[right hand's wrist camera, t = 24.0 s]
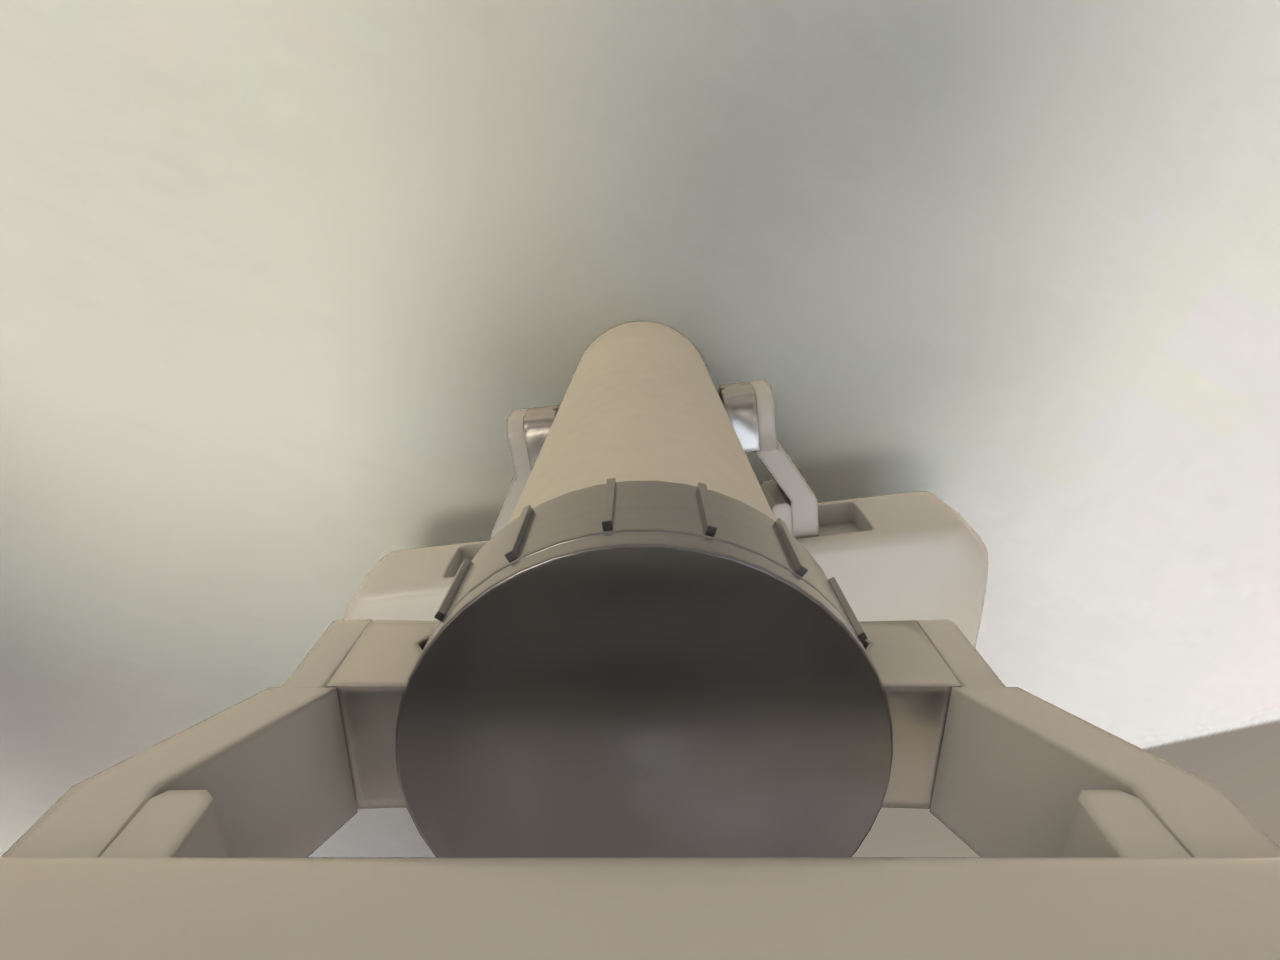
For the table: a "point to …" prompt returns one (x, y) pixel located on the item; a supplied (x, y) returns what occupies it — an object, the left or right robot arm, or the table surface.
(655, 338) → the beige tall cylinder
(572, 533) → the lid
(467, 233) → the table surface
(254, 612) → the table surface
